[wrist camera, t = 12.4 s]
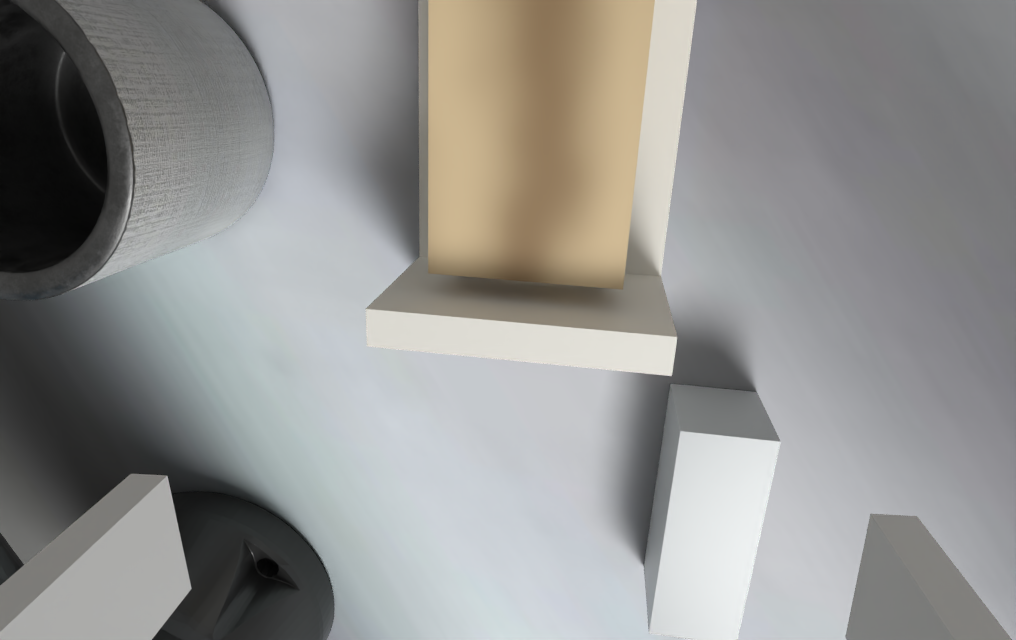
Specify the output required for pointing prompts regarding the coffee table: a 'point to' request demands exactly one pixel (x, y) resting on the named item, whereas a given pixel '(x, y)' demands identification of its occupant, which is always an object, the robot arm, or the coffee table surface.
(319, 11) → the coffee table surface
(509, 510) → the coffee table surface
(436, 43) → the board
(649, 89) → the shelf bay
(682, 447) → the block
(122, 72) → the planter
